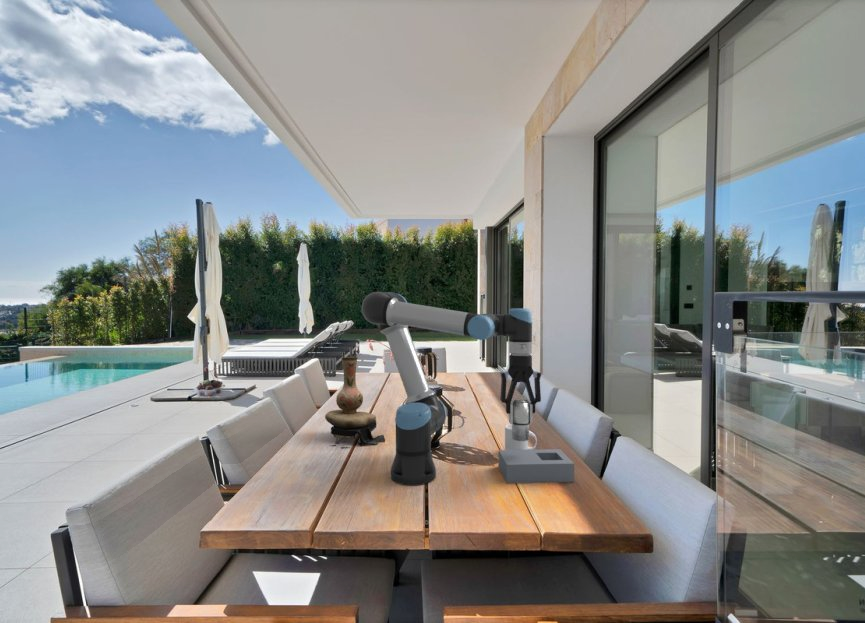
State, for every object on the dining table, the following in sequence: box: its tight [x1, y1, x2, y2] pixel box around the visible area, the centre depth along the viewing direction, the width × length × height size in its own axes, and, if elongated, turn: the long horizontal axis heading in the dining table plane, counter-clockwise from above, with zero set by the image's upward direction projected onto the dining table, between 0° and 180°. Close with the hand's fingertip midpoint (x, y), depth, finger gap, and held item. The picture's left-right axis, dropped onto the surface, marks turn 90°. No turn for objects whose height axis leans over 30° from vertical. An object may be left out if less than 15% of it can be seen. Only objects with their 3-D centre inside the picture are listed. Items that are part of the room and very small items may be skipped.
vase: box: [324, 356, 386, 449], centre depth 188 cm, size 24×22×35 cm
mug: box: [504, 423, 538, 450], centre depth 168 cm, size 9×12×11 cm
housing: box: [497, 448, 575, 484], centre depth 149 cm, size 22×14×6 cm, turn 93°
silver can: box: [511, 397, 531, 441], centre depth 149 cm, size 6×6×13 cm
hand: (520, 422), depth 149 cm, fingers closed on silver can, 6 cm apart
